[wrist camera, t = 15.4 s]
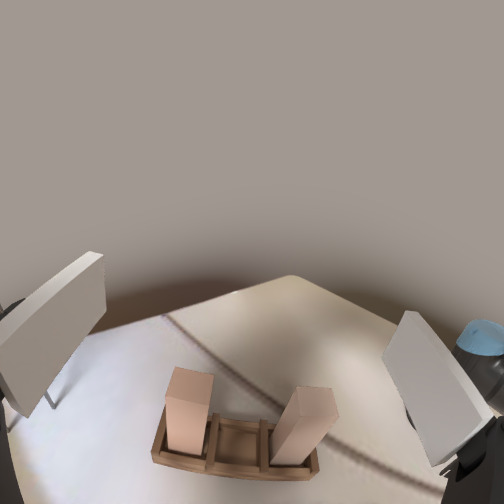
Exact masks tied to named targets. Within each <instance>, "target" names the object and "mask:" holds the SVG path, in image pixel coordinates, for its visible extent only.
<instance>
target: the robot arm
mask: <svg viewBox="0 0 504 504" xmlns="http://www.w3.org/2000/svg"><path fill="white" fill-rule="evenodd" d="M106 310H107V309H106V297H105V282H104V255H102V254H98V253H94V252H90V251H89V252H87V253H86V254H84V255H83V256H81V257H80V258H79V259H77V260H76V261H74V262H73V263H72V264H70V265H69V266H68V267H66V268H65V269H63V270H62V271H61V272H59V273H58V274H57V275H55V276H54V277H53V278H52V279H50V280H49V281H48V282H46V283H45V284H44V285H42V286H41V287H40V288H39V289H38V290H36V291H35V292H34V293H32V294H31V295H30V296H29V297H28V298H26V299H25V298H24V299H22V300H19V301H17V302H15V303H13V304H12V305H10V306H9V307H8V308H7V309H6V310H4V313H1V314H0V504H24V501H23V498H22V495H21V492H20V489H19V485H18V482H17V478H16V475H15V471H14V467H13V462H12V458H11V453H10V448H9V442H8V436H7V430H6V422H5V413H4V407H3V404H2V402H1V401H2V400H3V398H4V397H5V398H6V399H7V401H8V402H9V404H10V406H11V407H12V408H13V409H14V410H16V411H17V412H19V413H20V414H22V415H23V416H25V417H26V418H29V416H30V415H31V413H32V412H33V410H34V408H35V407H36V405H37V404H38V402H39V401H40V399H41V398H42V396H43V395H44V393H45V392H46V390H47V389H48V387H49V386H50V385H51V383H52V382H53V380H54V379H55V377H56V376H57V375H58V373H59V372H60V370H61V369H62V368H63V366H64V365H65V364H66V362H67V361H68V359H69V358H70V357H71V355H72V354H73V353H74V351H75V350H76V349H77V347H78V346H79V345H80V344H81V342H82V341H83V340H84V338H85V337H86V336H87V335H88V333H89V332H90V331H91V329H92V328H93V327H94V326H95V324H96V323H97V322H98V321H99V319H100V318H101V317H102V316H103V315H104V313H105V312H106ZM381 358H382V360H383V361H384V363H385V365H386V367H387V369H388V371H389V373H390V375H391V377H392V379H393V381H394V383H395V385H396V387H397V389H398V391H399V394H400V396H401V398H402V400H403V402H404V404H405V406H406V408H407V415H408V418H409V421H410V423H411V424H412V426H413V427H414V428H415V429H416V430H417V433H418V435H419V437H420V440H421V442H422V444H423V447H424V449H425V452H426V454H427V457H428V459H429V462H430V464H431V467H434V466H437V465H440V464H443V463H445V462H446V461H448V460H449V459H450V458H451V457H452V456H453V455H455V454H457V456H458V458H457V459H455V460H454V461H453V462H452V463H451V464H449V465H448V466H447V467H446V468H444V469H443V470H442V471H441V472H440V474H439V475H440V476H441V475H443V474H444V473H445V472H447V471H448V470H451V471H449V472H448V473H447V474H446V475H445V476H444V477H446V478H448V482H447V485H446V489H445V492H444V495H443V499H442V502H441V504H504V327H503V326H501V325H499V324H497V323H494V322H492V321H488V320H481V319H477V320H474V321H471V322H470V323H469V324H468V325H467V326H466V328H465V330H464V331H463V333H462V334H461V336H460V337H459V338H458V339H457V343H456V345H455V347H454V348H453V350H452V351H451V353H450V351H449V350H448V349H447V348H446V346H445V345H444V344H443V342H442V341H441V340H440V338H439V337H438V336H437V335H436V333H435V332H434V331H433V330H432V329H431V327H430V326H429V325H428V324H427V323H426V321H425V320H424V319H423V318H422V317H421V316H420V314H419V313H418V312H414V311H405V313H404V315H403V317H402V319H401V321H400V323H399V325H398V327H397V329H396V331H395V333H394V335H393V337H392V339H391V341H390V342H389V344H388V346H387V348H386V350H385V351H384V353H383V355H382V357H381ZM487 404H488V405H489V406H491V407H492V408H493V409H495V410H496V411H497V412H499V413H500V414H502V415H503V416H500V417H498V419H497V418H496V417H495V416H494V414H493V413H492V411H491V409H490V408H489V406H488V405H487Z"/></svg>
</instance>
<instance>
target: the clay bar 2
mask: <svg viewBox="0 0 504 504" xmlns="http://www.w3.org/2000/svg"><path fill="white" fill-rule="evenodd" d="M338 417H339V414H338V410H337V406H336V403H335V399H334V395H333V391H332V388H318V387H303V386H296V388H295V390H294V392H293V394H292V396H291V398H290V400H289V402H288V404H287V406H286V408H285V410H284V412H283V414H282V416H281V418H280V420H279V422H278V424H277V426H276V427H275V429H274V431H273V433H272V435H271V437H270V438H269V440H268V464H269V466H299V465H300V464H301V463H302V462H303V461H304V460H305V459H306V457H307V456H308V455H309V454H310V453H311V452H312V450H313V449H314V448H315V447H316V446H317V444H318V443H319V442H320V441H321V439H322V438H323V437H324V436H325V434H326V433H327V432H328V431H329V429H330V428H331V427H332V425H333V424H334V423H335V421H336V420H337V419H338Z"/></svg>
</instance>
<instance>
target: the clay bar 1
mask: <svg viewBox="0 0 504 504" xmlns="http://www.w3.org/2000/svg"><path fill="white" fill-rule="evenodd" d="M213 380H214V375H212V374H206V373H201V372H197V371H192V370H187V369H183V368H179V367H175V368H174V371H173V374H172V377H171V380H170V383H169V386H168V389H167V392H166V395H165V400H166V422H167V438H168V450H169V451H171V452H175V453H179V454H184V455H189V456H194V457H199V458H201V452H202V446H203V440H204V434H205V428H206V422H207V416H208V410H209V404H210V398H211V392H212V386H213Z"/></svg>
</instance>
